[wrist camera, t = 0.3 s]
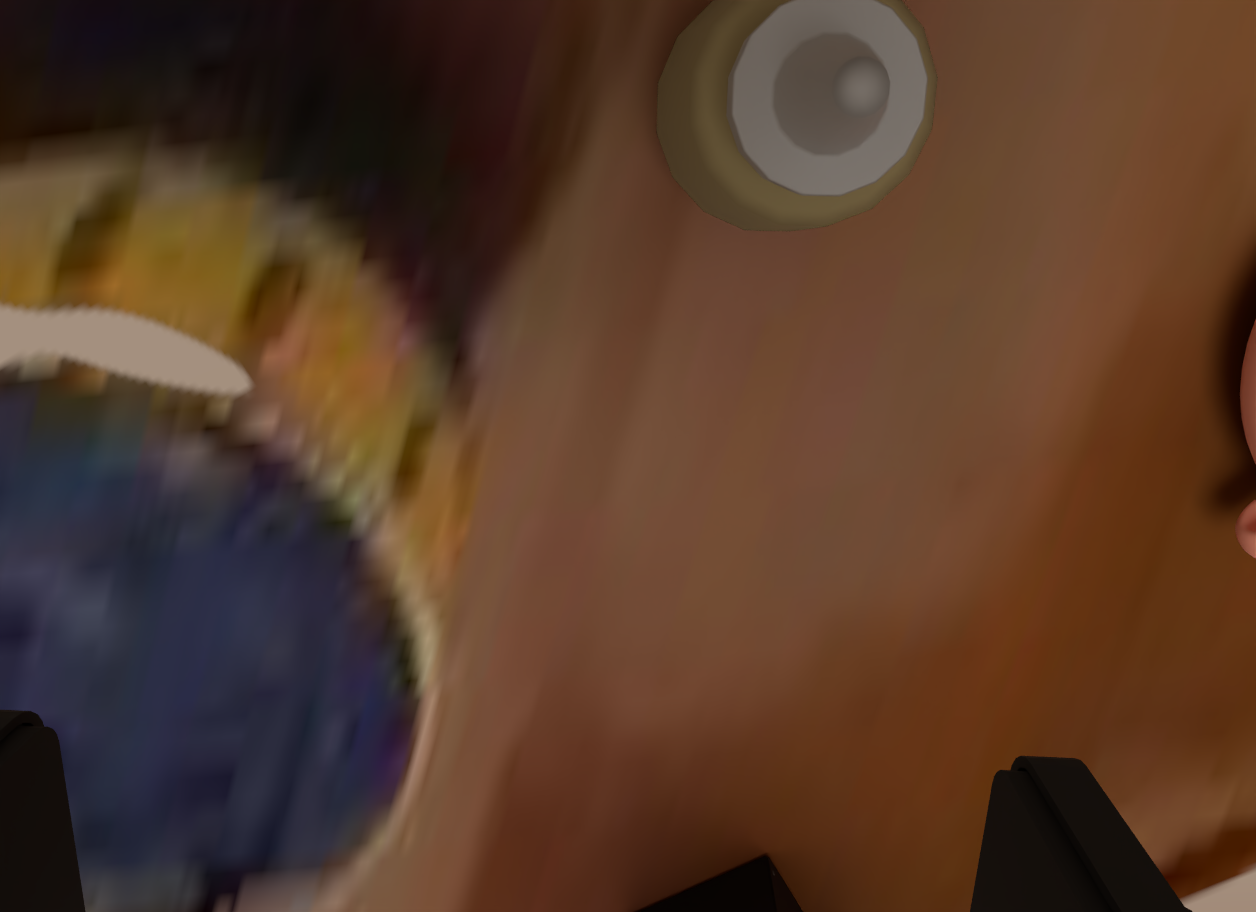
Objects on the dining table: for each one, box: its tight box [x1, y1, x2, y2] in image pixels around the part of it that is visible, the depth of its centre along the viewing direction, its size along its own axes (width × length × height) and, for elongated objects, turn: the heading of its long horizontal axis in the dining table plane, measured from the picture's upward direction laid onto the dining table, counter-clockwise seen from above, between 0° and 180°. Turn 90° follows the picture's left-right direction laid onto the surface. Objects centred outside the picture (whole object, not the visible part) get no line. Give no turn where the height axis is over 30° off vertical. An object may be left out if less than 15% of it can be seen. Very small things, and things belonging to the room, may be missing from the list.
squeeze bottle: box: [657, 0, 938, 231], centre depth 28 cm, size 8×8×18 cm
